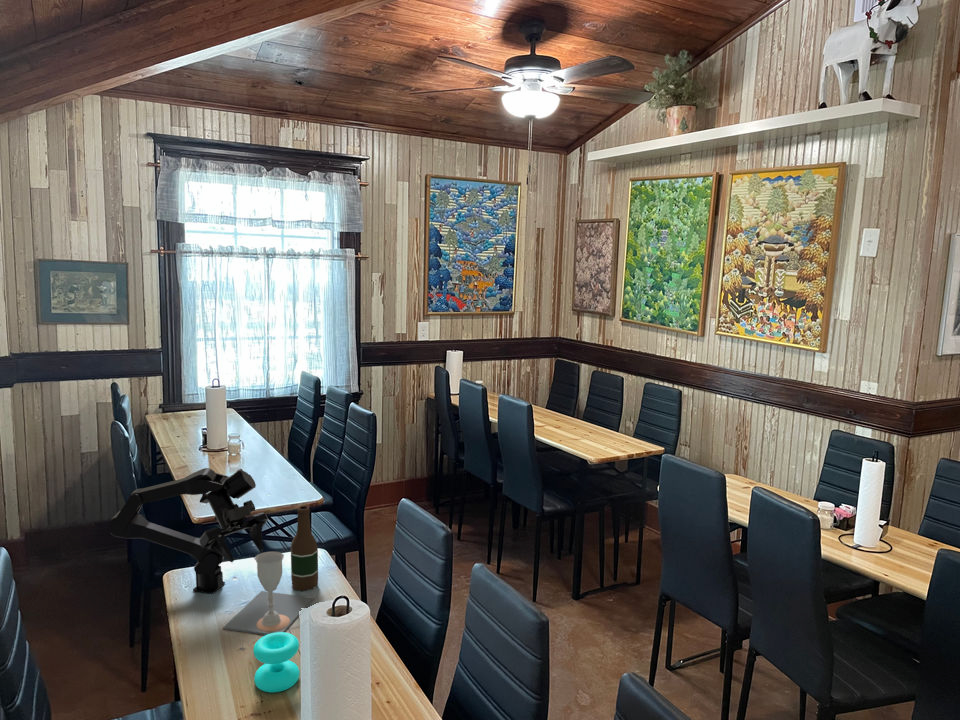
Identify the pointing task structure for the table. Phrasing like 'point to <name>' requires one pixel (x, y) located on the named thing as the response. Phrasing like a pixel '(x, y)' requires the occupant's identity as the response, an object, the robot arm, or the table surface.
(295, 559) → the beer bottle
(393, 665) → the table surface
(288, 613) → the mat
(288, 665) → the turquoise spool
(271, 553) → the chalice
